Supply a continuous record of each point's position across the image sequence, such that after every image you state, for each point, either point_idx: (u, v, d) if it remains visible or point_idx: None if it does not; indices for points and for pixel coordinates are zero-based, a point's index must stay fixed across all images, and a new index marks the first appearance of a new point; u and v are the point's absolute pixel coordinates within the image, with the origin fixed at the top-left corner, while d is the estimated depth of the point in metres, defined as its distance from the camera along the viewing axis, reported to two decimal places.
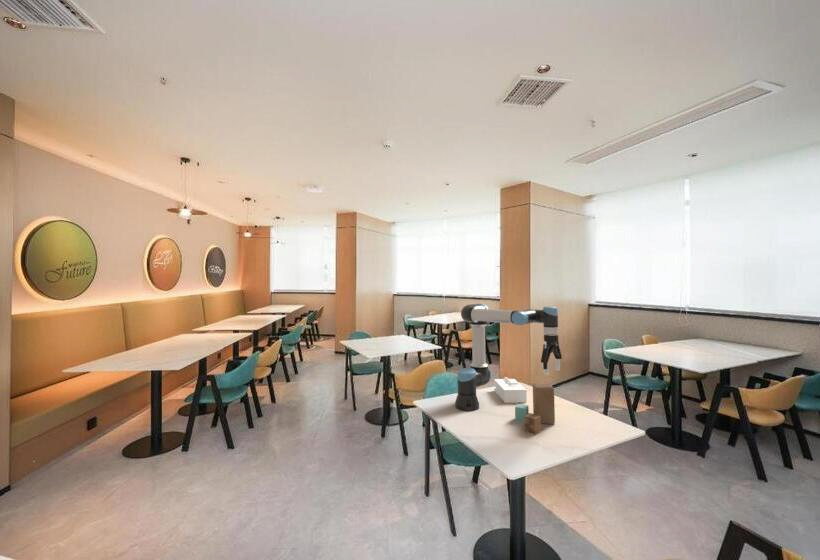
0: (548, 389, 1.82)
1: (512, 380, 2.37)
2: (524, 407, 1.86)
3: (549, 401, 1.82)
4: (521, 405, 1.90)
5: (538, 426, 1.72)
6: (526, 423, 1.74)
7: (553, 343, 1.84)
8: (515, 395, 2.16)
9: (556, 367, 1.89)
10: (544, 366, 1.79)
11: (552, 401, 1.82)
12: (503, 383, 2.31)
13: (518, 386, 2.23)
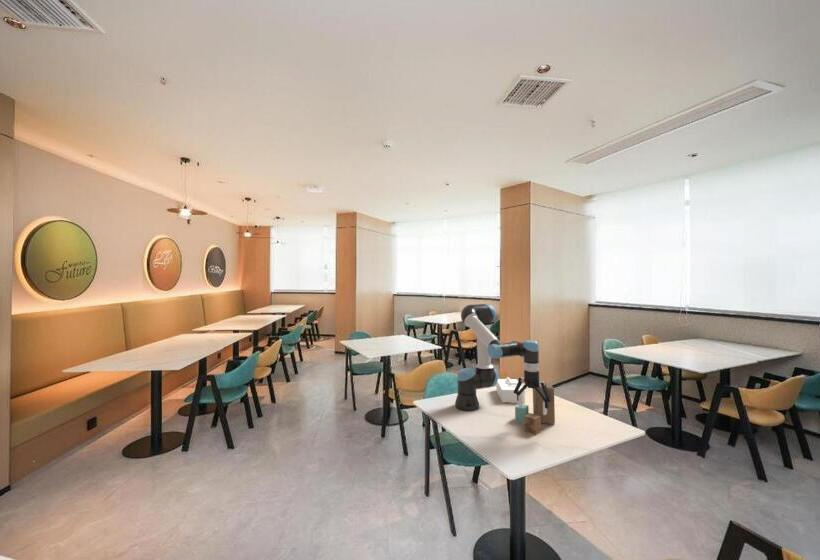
0: (548, 389, 1.82)
1: (514, 380, 2.37)
2: (524, 407, 1.87)
3: None
4: None
5: (538, 426, 1.72)
6: (526, 423, 1.74)
7: (531, 380, 1.74)
8: (512, 395, 2.16)
9: None
10: None
11: (552, 401, 1.82)
12: (503, 383, 2.31)
13: None
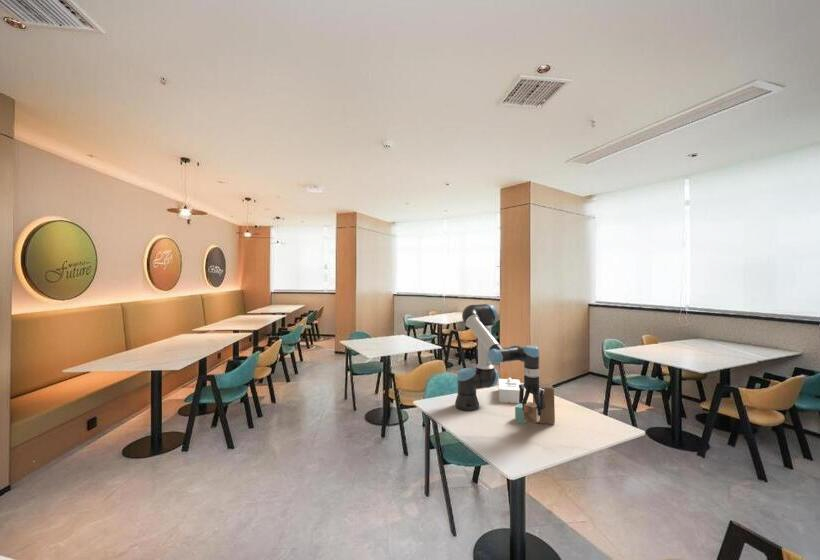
0: (548, 389, 1.82)
1: (516, 381, 2.36)
2: None
3: (549, 401, 1.82)
4: (521, 405, 1.90)
5: None
6: (525, 412, 1.74)
7: (531, 385, 1.74)
8: (510, 395, 2.16)
9: None
10: None
11: (552, 401, 1.82)
12: (504, 383, 2.31)
13: (516, 387, 2.22)
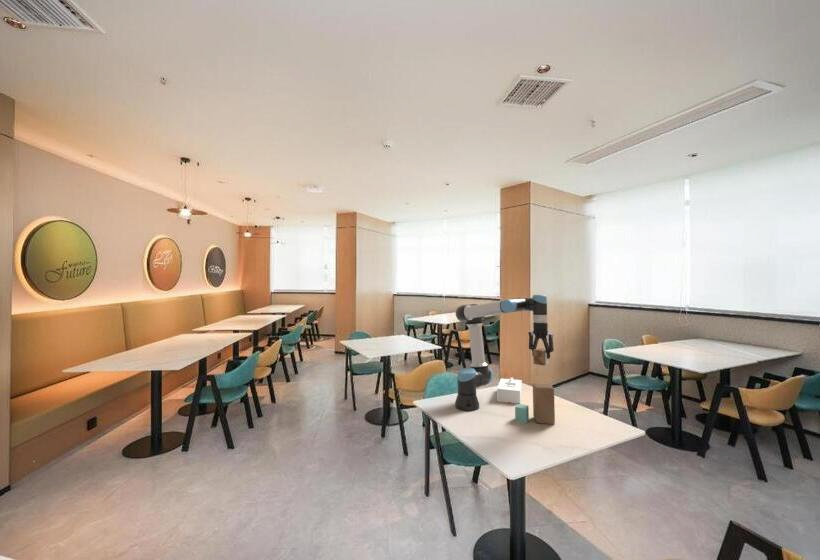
0: (548, 389, 1.82)
1: (517, 381, 2.35)
2: (524, 407, 1.86)
3: (549, 401, 1.82)
4: (521, 405, 1.90)
5: None
6: (535, 356, 1.86)
7: (540, 331, 1.85)
8: (507, 395, 2.17)
9: None
10: None
11: (552, 401, 1.82)
12: (504, 383, 2.32)
13: (516, 387, 2.22)
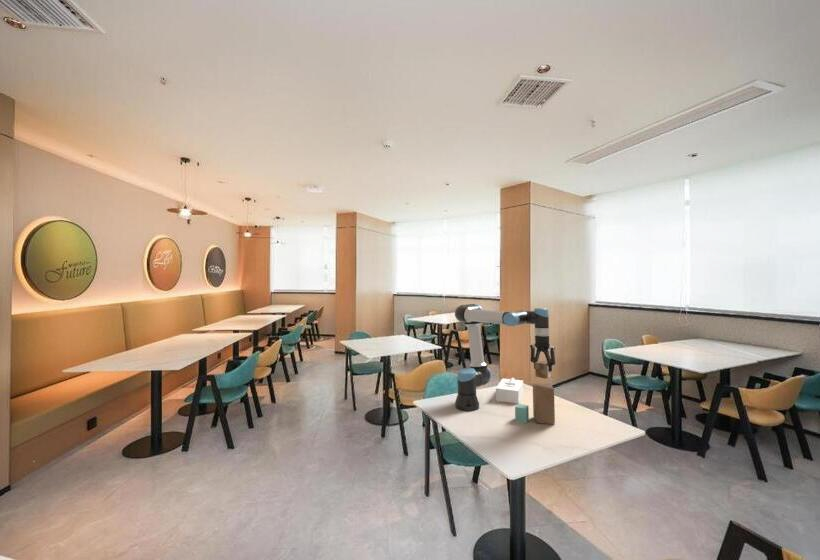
0: (548, 389, 1.82)
1: (518, 381, 2.34)
2: (524, 407, 1.87)
3: (549, 401, 1.82)
4: (521, 405, 1.90)
5: None
6: (537, 369, 1.87)
7: (542, 344, 1.87)
8: (506, 395, 2.17)
9: None
10: None
11: (552, 401, 1.82)
12: (505, 382, 2.32)
13: (515, 387, 2.22)
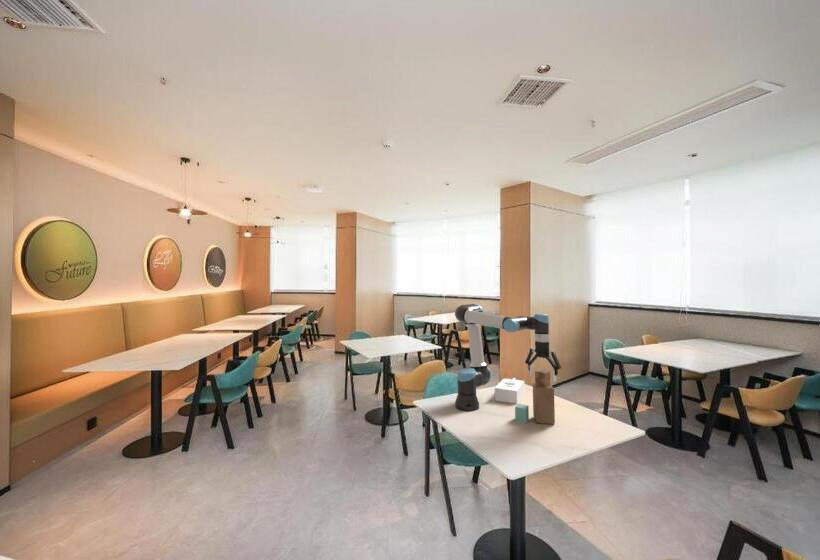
0: (548, 389, 1.82)
1: (519, 381, 2.33)
2: (524, 407, 1.87)
3: (549, 401, 1.82)
4: (521, 405, 1.90)
5: (547, 379, 1.85)
6: (536, 377, 1.87)
7: (542, 350, 1.87)
8: (505, 395, 2.18)
9: None
10: None
11: (552, 401, 1.82)
12: (505, 382, 2.32)
13: (514, 387, 2.21)
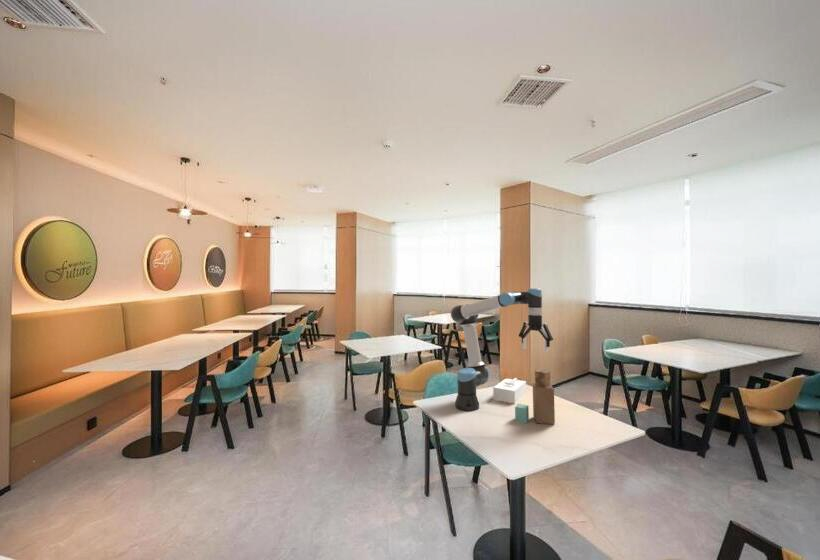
0: (548, 389, 1.82)
1: (520, 382, 2.33)
2: (524, 407, 1.86)
3: (549, 401, 1.82)
4: (521, 405, 1.90)
5: (547, 379, 1.85)
6: (536, 377, 1.87)
7: (534, 323, 1.94)
8: (503, 394, 2.18)
9: None
10: None
11: (551, 401, 1.82)
12: None
13: (513, 387, 2.21)
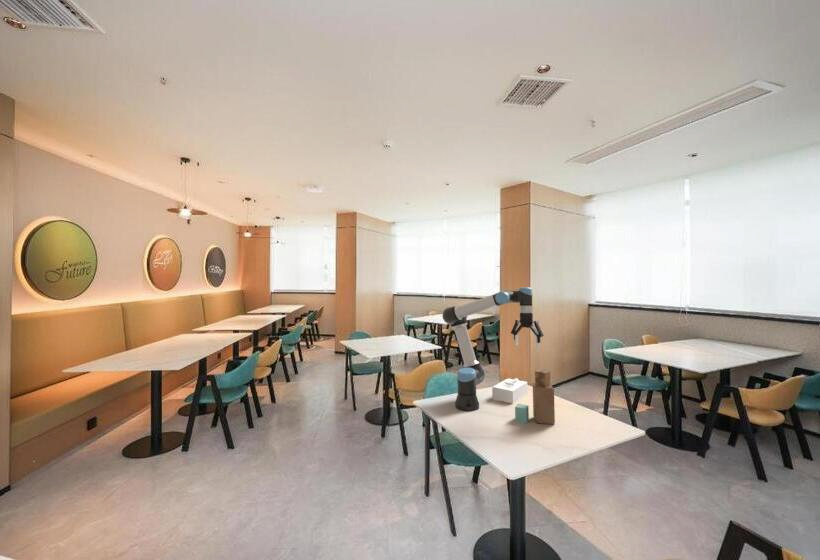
0: (548, 389, 1.82)
1: (521, 382, 2.32)
2: (524, 407, 1.86)
3: (549, 401, 1.82)
4: (521, 405, 1.90)
5: (547, 379, 1.85)
6: (536, 377, 1.87)
7: (526, 320, 2.03)
8: (501, 394, 2.19)
9: None
10: None
11: (552, 401, 1.82)
12: None
13: (513, 387, 2.21)
